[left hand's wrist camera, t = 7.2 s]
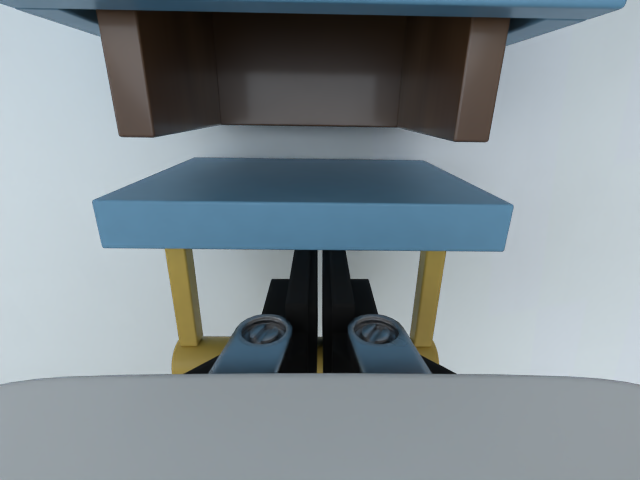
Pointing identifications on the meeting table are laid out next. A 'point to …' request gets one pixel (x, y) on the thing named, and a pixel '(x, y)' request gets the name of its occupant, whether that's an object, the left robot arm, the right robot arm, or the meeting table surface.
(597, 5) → the cabinet
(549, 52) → the meeting table surface
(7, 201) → the meeting table surface
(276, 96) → the drawer
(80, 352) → the meeting table surface
